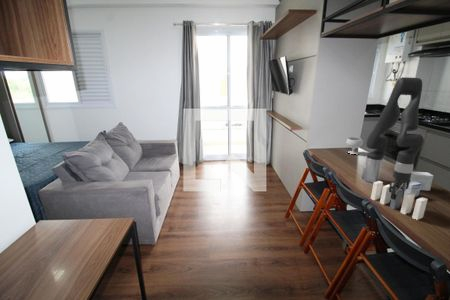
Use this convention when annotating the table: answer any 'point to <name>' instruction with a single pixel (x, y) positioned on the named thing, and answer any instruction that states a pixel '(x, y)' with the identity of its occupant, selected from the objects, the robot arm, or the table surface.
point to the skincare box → (422, 179)
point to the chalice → (354, 144)
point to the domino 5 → (419, 208)
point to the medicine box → (413, 188)
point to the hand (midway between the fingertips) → (396, 197)
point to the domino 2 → (385, 195)
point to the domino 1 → (376, 190)
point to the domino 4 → (407, 203)
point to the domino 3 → (397, 200)
